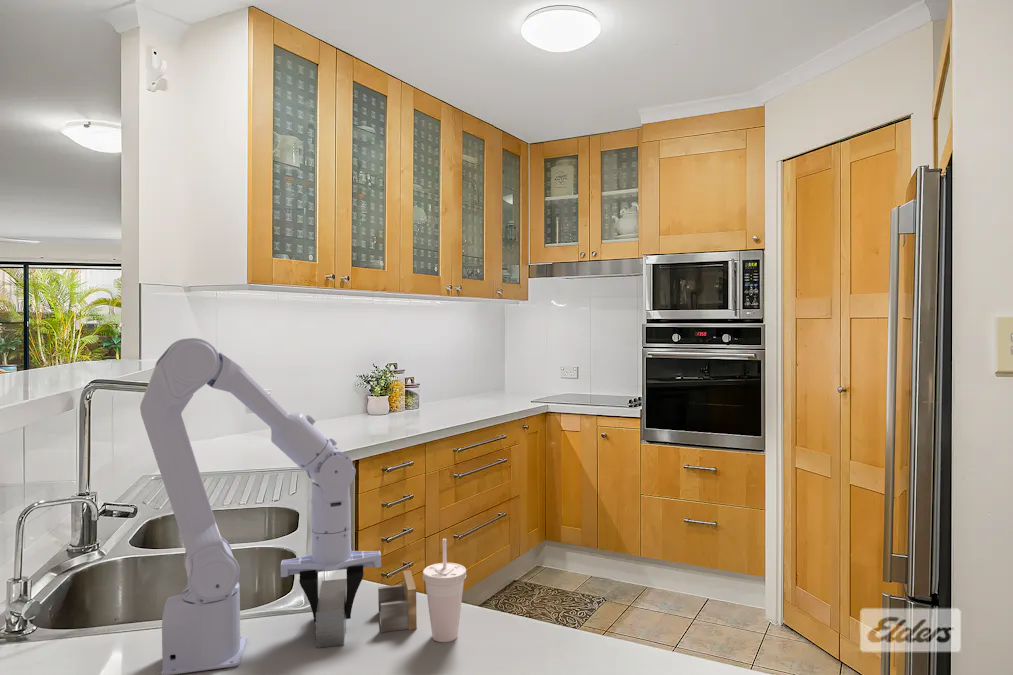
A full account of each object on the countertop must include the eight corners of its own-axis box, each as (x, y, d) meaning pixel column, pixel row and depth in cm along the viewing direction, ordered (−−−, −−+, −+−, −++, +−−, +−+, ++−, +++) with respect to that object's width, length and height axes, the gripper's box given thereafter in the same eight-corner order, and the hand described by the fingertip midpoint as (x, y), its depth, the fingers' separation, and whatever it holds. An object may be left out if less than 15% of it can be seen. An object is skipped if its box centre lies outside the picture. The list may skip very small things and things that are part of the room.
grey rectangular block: (343, 644, 90) (343, 609, 90) (316, 647, 89) (315, 612, 89) (347, 609, 102) (346, 578, 102) (322, 612, 101) (322, 580, 101)
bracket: (381, 633, 94) (380, 593, 94) (378, 611, 101) (377, 573, 101) (416, 629, 95) (416, 589, 95) (411, 607, 103) (410, 570, 103)
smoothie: (467, 625, 96) (466, 533, 96) (467, 645, 89) (466, 546, 90) (424, 627, 95) (423, 534, 95) (421, 647, 89) (420, 548, 89)
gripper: (278, 540, 90) (279, 636, 90) (381, 531, 94) (382, 623, 94) (282, 526, 97) (283, 615, 97) (379, 518, 100) (380, 604, 100)
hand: (332, 618), depth 96 cm, fingers closed on grey rectangular block, 4 cm apart
